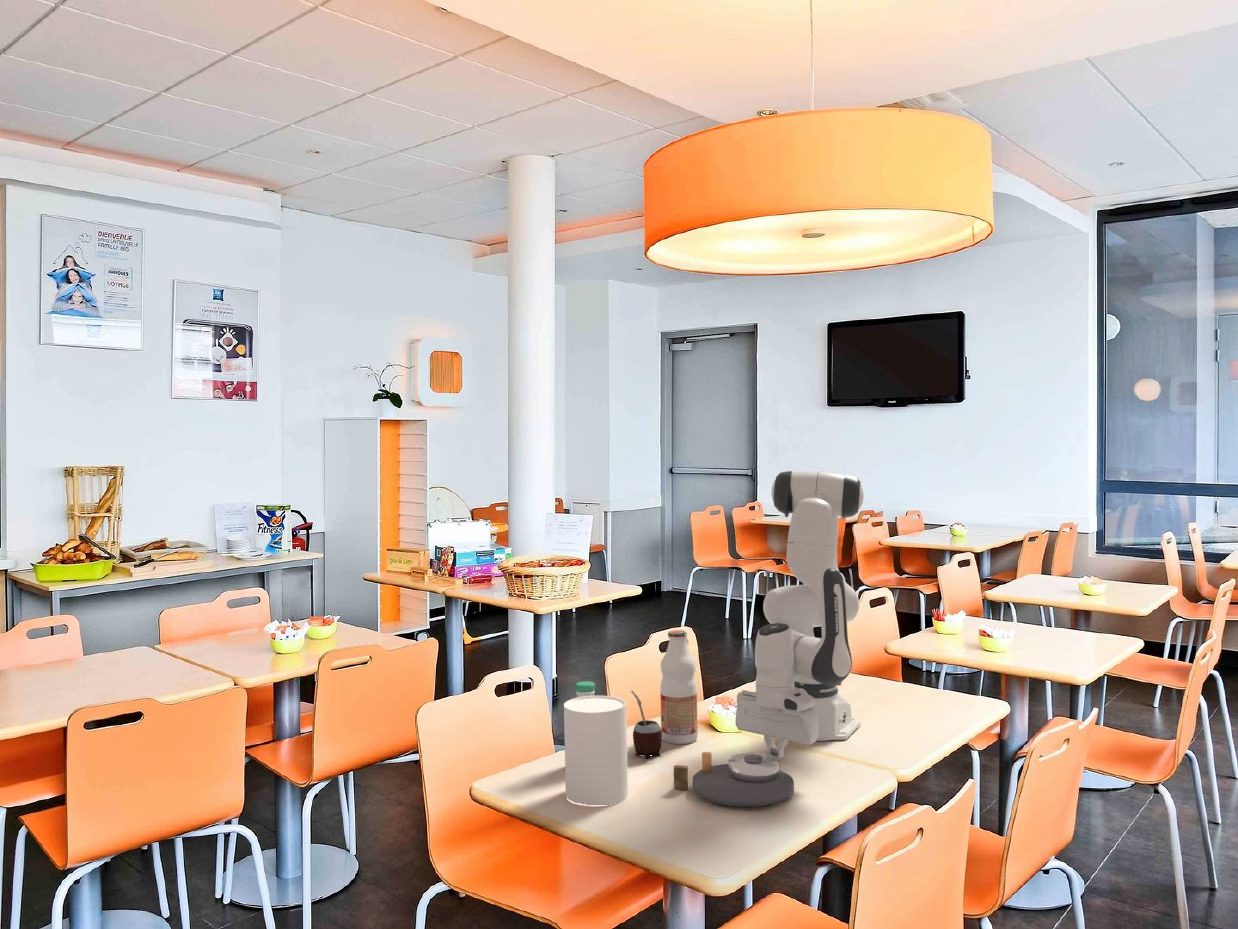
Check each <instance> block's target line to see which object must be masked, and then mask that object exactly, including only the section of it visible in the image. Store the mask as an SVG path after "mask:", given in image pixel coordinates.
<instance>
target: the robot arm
mask: <svg viewBox="0 0 1238 929" xmlns="http://www.w3.org/2000/svg"><path fill="white" fill-rule="evenodd" d="M861 482H862V481H860V479H859V478H858V477H856V476H854V475H850V474H846V473H845V474H844V475H843V474H841V473H840V474H839V473H834V472H828V471H821V470H820V471H795V472H794V471H793V470H787V471H782V472H779V473H778V474H777V475H776V477H775V479H774V480H773V483H772V486H771V498H772V502H773V506H774V508H776V510H777V511H778V512H780V513H782V514H784V517H786V518H789V515H790V514H792V515H791V518H790V523H789V528H788V529H789V530H788V533H787V534H788V535H787V544H786V564H787V568H788V570H789V571H790V573H791V574H792V575H793V577H795V578H796V579H797V580H798V582H799V581H800V582H801V583H802V584H795V585H784V586H781V587H777V588H776V587H775V588H774V589H770V590H769V591H768V592H767V593H766V595H765V597H764V600H763V604H762V606H763V607H762V609H763V614H764V616H765V619H766V620H767V621H768V623H769V624H765V625H764V626H762V627H760V628H759V629H758V631H757V635H756V638H755V645H754V646H755V647H754V649H755V650H754V661H755V662H754V663H755V664H754V665H755V668H756V678H755V691H751V690H750V691H749V690H746V689H745V690H742V691H739V692H738V693H737V695H736V704H737V705H736V711H735V712H736V713H735V727H736V728H737V731H738V730H739V731H742V732H747V733H753V734H758V735H761V736H763V740H764V742H765V744H766V746H767V748H768V755H770V756H773V757H775V758H776V757H777V758H783V757H784V755H785V754H784V751H785V750H784V749H785V748H786V746H787V744H788V742H789V741H790V742H794V743H800V744H804V745H808V746H809V745H811V744H813V743H815V742H816V741H817V742H819V741H824V742H825V741H834V740H835V741H845V740H847V738H848V737H849V736H852V735H853V734H852V733H853V732H854V731H855V730H856V729H857V728H858V729H859V728H860V727H861V725H860V724H861V721H860V720H857V719H856V718H853V717H852V709H851V708H852V706H851V704H850V703H849V701H847V699H845V698H844V697H843V696H842V695H841V694H840V693H839V688H838V686H840V687H841V685H842V683H843V682H844V681H845V680H846V679H847V678H848V676H849V674H850V673H851V670H852V666H853V658H852V653H851V649H850V645H849V635H848V622H851V621H853V620H854V619H855V618H856V617H857V615H858V614H859V610H860V600H859V596H858V594H857V592H856V590H855V589H854V588H853V587H852V586H851V585H849V583H847V582H846V581H845V580H844V578H843V576H842V574H841V572H840V570H839V567H838V564H839V563H838V543H839V542H838V540H839V517H841V518H842V519H843V520H844V519H846V518H852V517H854V516H855V515H857V514H858V513H859V511H860V509H861V507H862V505H863V502H864V494H865V493H864V490H863V489H864V488H863V486H862V484H861ZM816 627H821V637H815V633H814V628H816ZM856 731H857V730H856ZM856 731H855V732H856ZM855 732H854V733H855ZM851 734H852V735H851ZM775 738H776V739H777V742H778V744H779V745H778V746H776V745H775V742H774V740H773V739H775ZM849 738H850V737H849ZM849 738H848V739H849Z"/></svg>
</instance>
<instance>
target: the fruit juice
mask: <svg viewBox="0 0 1238 929" xmlns="http://www.w3.org/2000/svg"><path fill="white" fill-rule="evenodd" d="M667 636H668V639H669V640H668V645H667V648H666V651H665V654H664V655H663V657H662V659H661V660H660V661H661V662H660V672H661V675H662V678H661V680H660V690H659V691H660V727H661V732H662V741H664V742H665V743H668V744H672V745H685V744H686V745H687V744H691V743H692V744H693V743H694V742H695V741H696V742H697V739H698V733H699V732H698V731H699V729H698V690H697V689H698V688H697V682H696V679H695V672H696V667H697V664H696V660H695V659H694V657H693V655H692V654H691V651H690V649H689V646H688V643H687V638H688V633H687V630H685V629H672V630H669V631H668V632H667Z"/></svg>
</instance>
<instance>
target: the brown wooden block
mask: <svg viewBox="0 0 1238 929" xmlns="http://www.w3.org/2000/svg"><path fill="white" fill-rule="evenodd" d="M688 789H689V765H683V764H682V765H679V764H677V765H676V764H675V765H673V791H679V792H680V791H681V792H683V791H684V792H688V791H689V790H688Z"/></svg>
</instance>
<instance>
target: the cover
mask: <svg viewBox="0 0 1238 929" xmlns="http://www.w3.org/2000/svg"><path fill="white" fill-rule="evenodd" d="M728 764H729V776H730V777H731V778H733V779H735V780H737V781H741V782H746V783H766V782H771V781H774V780H776V779H777V778H778V777H779V770H780V769H779V768H780V765H779V764H780V763H779V759H778V758H776V756H772V755H769V754H765V753H761V752H746V753H745V752H744V753H739V754H738V753H737V754H735V755H732V756H730V757H729V759H728Z"/></svg>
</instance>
